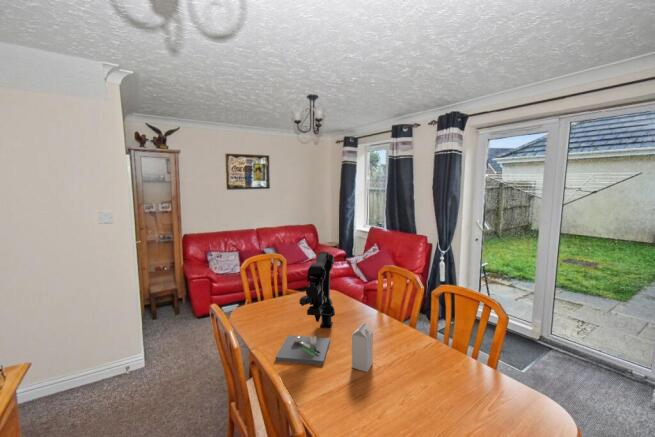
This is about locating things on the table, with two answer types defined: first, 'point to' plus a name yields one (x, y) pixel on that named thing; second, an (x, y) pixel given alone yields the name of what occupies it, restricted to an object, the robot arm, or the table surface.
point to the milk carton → (362, 348)
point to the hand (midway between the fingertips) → (317, 321)
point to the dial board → (303, 351)
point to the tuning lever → (312, 344)
